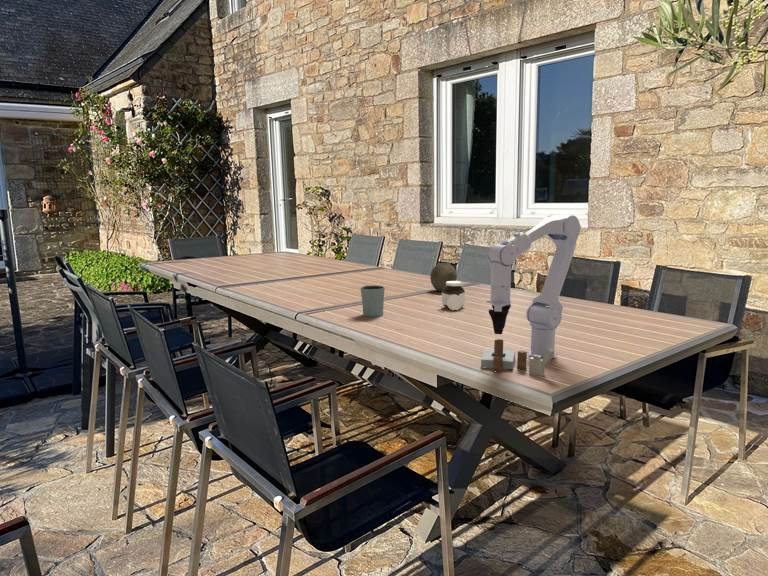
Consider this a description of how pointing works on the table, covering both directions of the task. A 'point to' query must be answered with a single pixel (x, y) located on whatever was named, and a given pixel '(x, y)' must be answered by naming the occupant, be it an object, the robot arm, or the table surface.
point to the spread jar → (453, 295)
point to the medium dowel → (522, 360)
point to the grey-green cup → (372, 300)
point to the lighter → (540, 363)
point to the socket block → (507, 359)
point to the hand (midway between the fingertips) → (499, 330)
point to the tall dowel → (498, 347)
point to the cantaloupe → (442, 275)
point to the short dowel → (497, 363)
